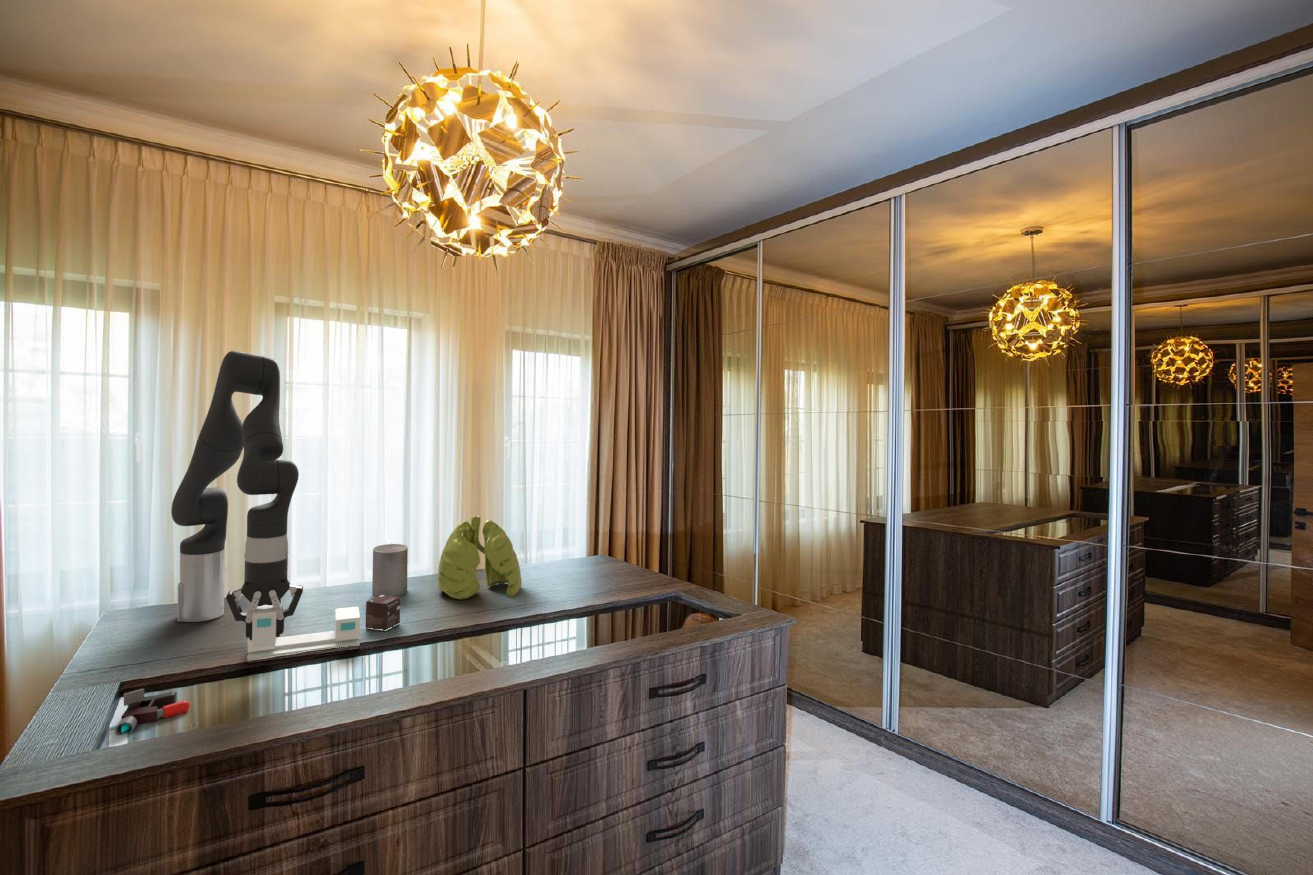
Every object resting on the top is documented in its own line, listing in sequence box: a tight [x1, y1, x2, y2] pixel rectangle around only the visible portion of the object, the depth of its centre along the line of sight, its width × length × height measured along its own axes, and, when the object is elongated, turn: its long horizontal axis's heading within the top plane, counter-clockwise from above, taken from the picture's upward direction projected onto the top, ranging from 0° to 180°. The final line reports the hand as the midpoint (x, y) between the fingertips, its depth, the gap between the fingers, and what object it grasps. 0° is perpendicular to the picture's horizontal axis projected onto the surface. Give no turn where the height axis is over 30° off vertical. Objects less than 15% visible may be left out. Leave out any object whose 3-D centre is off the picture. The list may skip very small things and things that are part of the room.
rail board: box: [246, 606, 361, 660], centre depth 142 cm, size 22×10×7 cm, turn 119°
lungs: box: [437, 515, 523, 601], centre depth 188 cm, size 25×16×24 cm, turn 111°
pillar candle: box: [371, 543, 409, 597], centre depth 184 cm, size 10×10×15 cm
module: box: [252, 605, 278, 648], centre depth 127 cm, size 4×6×7 cm, turn 29°
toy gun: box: [114, 688, 191, 736], centre depth 111 cm, size 10×12×5 cm
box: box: [365, 595, 401, 630], centre depth 158 cm, size 6×6×7 cm
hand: (264, 637), depth 127 cm, fingers closed on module, 4 cm apart
